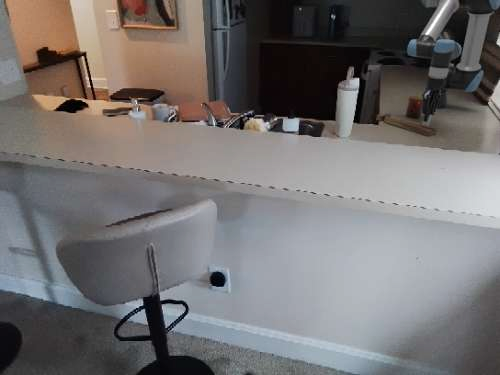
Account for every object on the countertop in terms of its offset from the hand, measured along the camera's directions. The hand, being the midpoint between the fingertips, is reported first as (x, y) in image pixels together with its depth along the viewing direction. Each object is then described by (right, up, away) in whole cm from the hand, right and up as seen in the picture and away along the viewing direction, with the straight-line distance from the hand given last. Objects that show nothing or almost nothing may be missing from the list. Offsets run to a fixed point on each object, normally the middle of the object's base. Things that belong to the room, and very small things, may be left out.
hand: (424, 127), depth 181 cm
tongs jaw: (-5, +1, +3) cm, 6 cm away
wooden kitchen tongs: (-8, +1, +5) cm, 9 cm away
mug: (+3, +8, +19) cm, 21 cm away
